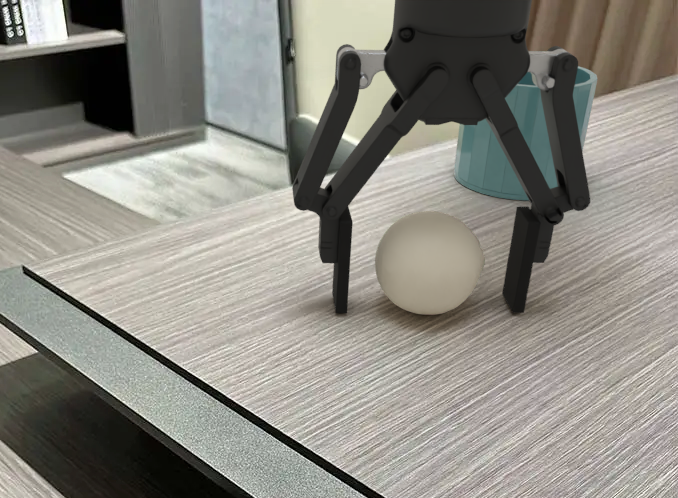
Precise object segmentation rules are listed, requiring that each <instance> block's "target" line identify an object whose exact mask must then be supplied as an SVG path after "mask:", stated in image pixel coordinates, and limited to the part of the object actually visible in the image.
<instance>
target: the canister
mask: <svg viewBox="0 0 678 498" xmlns="http://www.w3.org/2000/svg"><path fill="white" fill-rule="evenodd" d="M597 84H598V75H597V74H596V73H595V72H593V71H592V70H590V69H588V68H586V67H582V66H580V65H578V70H577V75H576V80H575V86H574V91H573V100H574V106H575V111H576V117H577V123H578V129H579V135H580V141H581V147H582V153H583V152H584V147H585V141H586V136H587V133H588V127H589V122H590V118H591V112H592V108H593V103H594V99H595V93H596V89H597ZM505 100H506V102H507V104H508V106H509V108H510V110H511V112H512V113H513V115H514V117H515V119H516V121H517V124H518V127H519V129H520V131H521V133H522V135H523V137H524V139H525V141H526V143H527V145H528V147H529V149H530V151H531V153H532V155H533V157H534V159H535V161H536V163H537V164H538V166H539V168H540V170H541V172H542V174H543V176H544V178H545V180H546V182H547V184H548V186H549V188H550V189H551V188H555V187H558V184H557V179H556V174H555V169H554V163H553V158H552V153H551V147H550V142H549V137H548V132H547V126H546V121H545V116H544V111H543V105H542V100H541V93H540V88H538V87H537V86H536V85H535V84H534V83H533V81H532V74H531V72H527V73H526V75H525V76H524V77H523V78H522V79H521V81H520V82H519V83H518V84H517V85H516V86H515V87H514V89H513V90H512V91H511V92H510V93H509V94H508V95H507V97H506V98H505ZM458 126H459V127H458V133H457V141H456V142H457V143H456V150H455V158H454V164H453V165H454V166H453V176H454V179H455V180H456V181H457V182H458V183H459V184H460V185H462V186H463V187H465V188H467V189H469V190H471V191H473V192H476V193H480V194H483V195H485V196H486V195H487V196H490V197H494V198H498V199H499V198H500V199H506V200H516V201H529V199H528V197H527V195H526V193H525V191H524V189H523V188H522V186H521V184H520V182H519V180H518V178H517V176H516V174H515V172H514V171H513V169H512V167H511V165H510V163H509V161H508V159H507V157H506V155H505V154H504V152H503V150H502V148H501V146H500V144H499V142H498V140H497V139H496V137H495V135H494V133H493V131H492V129H491V127H490V125H489V124H488V122H487V121H486V119H484V120H482V121H480V122H478V124H477V125H463V124H459V125H458Z"/></svg>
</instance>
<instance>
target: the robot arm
mask: <svg viewBox="0 0 678 498" xmlns="http://www.w3.org/2000/svg"><path fill="white" fill-rule="evenodd" d="M532 1H533V0H394V8H393V20H392V21H393V22H392V31H391V34H390V38H389V40H388V42H387V43H386V45H385V46H384V48H383V49H356V48H355V47H354V46H353V45H352V44H349V43H348V44H347V43H345V44H342V45H340V46H339V47H338V49H337V51H336V54H335V73H334V84H333V87H332V88H331V91H330V94H329V96H328V98H327V101H326V104H325V106H324V108H323V110H322V113H321V115H320V118H319V120H318V123H317V125H316V128H315V130H314V132H313V135H312V137H311V140H310V142H309V144H308V147H307V149H306V152H305V154H304V157H303V159H302V162H301V164H300V166H299V168H298V171H297V174H296V176H295V179H294V180H293V183H292V188H291V190H292V198H293V203H294V207H295V208H296V209H297V210H299V211H303V212H305V211H310V212H312V213H315V214H316V215H317V216H318V217H319V220H318V221H319V223H318V244H317V245H318V253H319V258H320V260H321V263H322V264H333V269H332V270H333V273H332V288H331V289H332V290H331V291H332V292H331V295H332V300H333V308H334V312H335V314H348V302H349V285H350V270H351V254H352V240H353V239H352V238H353V237H352V236H353V225H354V224H353V219H352V214H351V211H350V207H349V206H350V205H351V203H352V202H353V201H354V199H355V198H356V197H357V195H358V194H359V193H360V192H361V191H362V189H363V188H364V186H366V184H367V182H368V181H369V180H370V179H371V177H372V176H373V175H374V173H376V171H377V170H378V169H379V167H380V165H382V163H383V162H384V161H385V159H386V158H387V157H388V156H389V154H390V153H391V152H392V150H393V149H394V148H395V146H396V145H397V144H398V143H399V142H400V140H401V139H402V138H404V137H405V136H407V135H408V134H409V133H410V132H411V130H412V129H413V128H414V126H415V125H416V124H417V123H418V122H419V121H420V122H423V123H424V125H425V126H439V125H444V124H448V123H456V124H459V125H460V124H463V125H477V124H478V122H480V121H482V120H484V119H486V121H487V122H488V124H489V125H490V127H491V129H492V131H493V133H494V135H495V137H496V139H497V140H498V142H499V144H500V146H501V148H502V150H503V152H504V154H505V155H506V157H507V159H508V161H509V163H510V165H511V167H512V169H513V171H514V172H515V174H516V176H517V178H518V180H519V182H520V184H521V186H522V188H523V189H524V191H525V193H526V195H527V197H528V199H529V200H528V201H529V203H530V204H531V205H530V207H529V206H516V211H515V217H514V220H513V221H514V222H513V227H512V234H511V239H510V246H509V251H508V257H507V262H506V263H507V264H506V268H505V273H504V274H505V275H504V281H503V287H502V292H501V294H502V296H503V298H504V300H505V302H506V303H507V306H508V307H509V309H510V312H512V313H513V314H520V313H521V314H524V313H525V308H526V303H527V298H528V293H529V287H530V282H531V277H532V272H533V265H534V264H544V263H545V262H546V260H547V259H548V257H549V254H550V247H551V244H552V243H551V242H552V239H553V232H554V228H555V226H557V225H559V224H560V223H562V222H563V220H564V217H565V213H567V212H570V211H573V210H574V211H577V212H582V211H584V210H586V209H587V208H588V207H589V206H590V204H591V195H590V188H589V183H588V177H587V171H586V166H585V159H584V155H583V154H584V153H583V152H582V147H581V141H580V135H579V129H578V123H577V117H576V111H575V106H574V100H573V91H574V86H575V80H576V75H577V70H578V66H579V60H578V57H576V56H575V55H574V54H572V53H570V52H569V51H568V50H566V49H564V48H563V47H561V46H558V45H553V46H551V47H550V48H548V49H547V50H538V51H537V50H528V46H527V40H526V37H527V36H526V35H527V31H528V27H529V22H530V15H531V8H532V3H533V2H532ZM380 72H384V73H385V75H386V76H387V78H388V79H389V81H390V82H391V84H392V85H393V87H394V89H395V91H394V92H393V93H392V95H391V96H390V97H389V99H388V100H387V101H386V103H385V104H384V105H383V107H382V109H381V112H380V114H379V115H378V117H377V118H376V120H375V121H374V122H373V124H372V125H371V126H370V127H369V129H368V130H367V132H366V133H365V134H364V135H363V137H362V138H361V140H360V141H359V142H358V143H357V145H356V146H355V147H354V149H353V150H352V151H351V152H350V153H349V155H348V156H347V158H346V159H345V160H344V162H343V163H342V164H341V166H340V167H339V168H338V170H337V171H336V172H335V173H334V176H333V177H332V178H331V179H330V180H329V181H328V183H327V184H326V186H325V187H324V188H323V187H321V186H322V184H323V182H324V180H325V177H326V175H327V172H328V171H329V168H330V165H331V164H332V161H333V158H334V156H335V154H336V152H337V150H338V147H339V145H340V143H341V140H342V138H343V135H344V133H345V130H346V129H347V126H348V124H349V122H350V119H351V117H352V115H353V112H354V110H355V107H356V104H357V101H358V98H359V94H360V90H365V89H367V88H368V87H370V86H371V84H372V83H373V79H374V77H375V75H377V74H378V73H380ZM527 72H531V74H532V81H533V83H534V84H535V85H536V86H537V87H538V88H540V93H541V100H542V105H543V111H544V116H545V121H546V126H547V132H548V137H549V142H550V147H551V153H552V158H553V163H554V169H555V174H556V179H557V184H558V187H555V188H551V189H550V188H549V186H548V184H547V182H546V180H545V178H544V176H543V174H542V172H541V170H540V168H539V166H538V164H537V163H536V161H535V159H534V157H533V155H532V153H531V151H530V149H529V147H528V145H527V143H526V141H525V139H524V137H523V135H522V133H521V131H520V129H519V127H518V124H517V121H516V119H515V117H514V115H513V113H512V112H511V110H510V108H509V106H508V104H507V102H506V100H505V98H506V97H507V95H508V94H509V93H510V92H511V91H512V90H513V89H514V87H515V86H516V85H517V84H518V83H519V82H520V81H521V79H522V78H523V77H524V76H525V75H526V73H527Z"/></svg>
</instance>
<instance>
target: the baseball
mask: <svg viewBox="0 0 678 498" xmlns="http://www.w3.org/2000/svg"><path fill="white" fill-rule="evenodd" d="M484 253H485V252H484V249H483V248H482V246H481V242H480V240H479V238H478V236H477V235H476V234H475V233H474V232H473V231H472V229H471V227H469V226H468V225H467V224H466V222H464V221H463V220H461V219H459V218H457V217H456V216H454V215H452V214H449V213H445V212H441V211H436V210H435V211H432V210H422V211H416V212H411V213H409V214H406V215H404V216H402V217H400V218H399V219H397V220H395V221H394V222H393V223H392V224H391V225H390V226H389V227H388V228H387V230H385V231H384V234H383V235H382V237H381V239H380V240H379V242H378V245H377V248H376V252H375V258H374V268H375V274H376V279H377V282H378V284H379V286H380V289H381V290H382V292H383V293H384V295H385V296H386V297H387V299H389V300H390V302H391V303H393V304H394V305H395V306H397V307H398V308H400V309H402V310H403V311H407V312H409V313H412V314H416V315H429V316H432V315H433V316H434V315H441V314H445V313H448V312H450V311H452V310H454V309H456V308H458V307H459V306H460V305H461V304H463V303H464V302H465V301H466V300H467V299H468V298H469V297H470V295H472V293H473V292H474V290H475V289H476V287H477V284H478V282H479V280H480V277H481V275H482V271H483V269H484V267H485V264H486V257H485V254H484Z"/></svg>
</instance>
